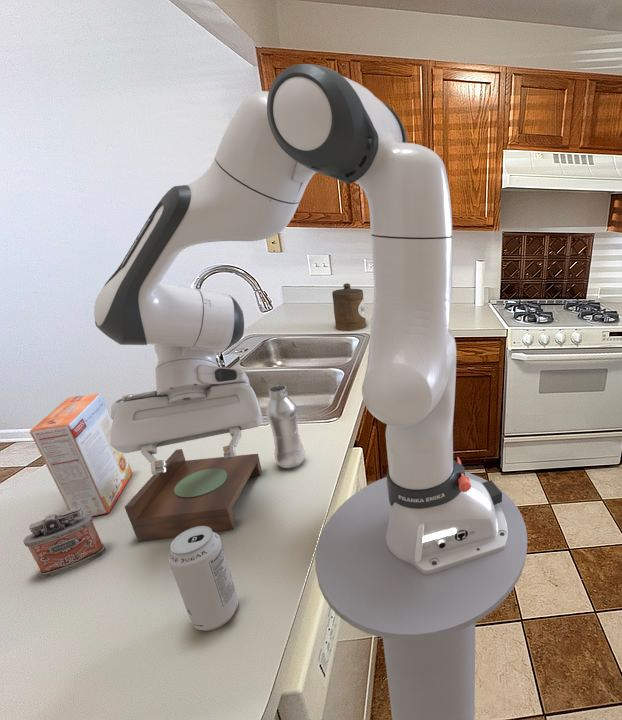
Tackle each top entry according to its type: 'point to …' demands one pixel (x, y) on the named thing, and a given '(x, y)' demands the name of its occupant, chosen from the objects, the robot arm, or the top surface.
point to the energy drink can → (203, 577)
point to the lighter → (64, 542)
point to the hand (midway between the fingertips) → (195, 465)
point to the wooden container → (349, 308)
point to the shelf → (190, 495)
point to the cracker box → (83, 454)
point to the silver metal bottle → (284, 428)
